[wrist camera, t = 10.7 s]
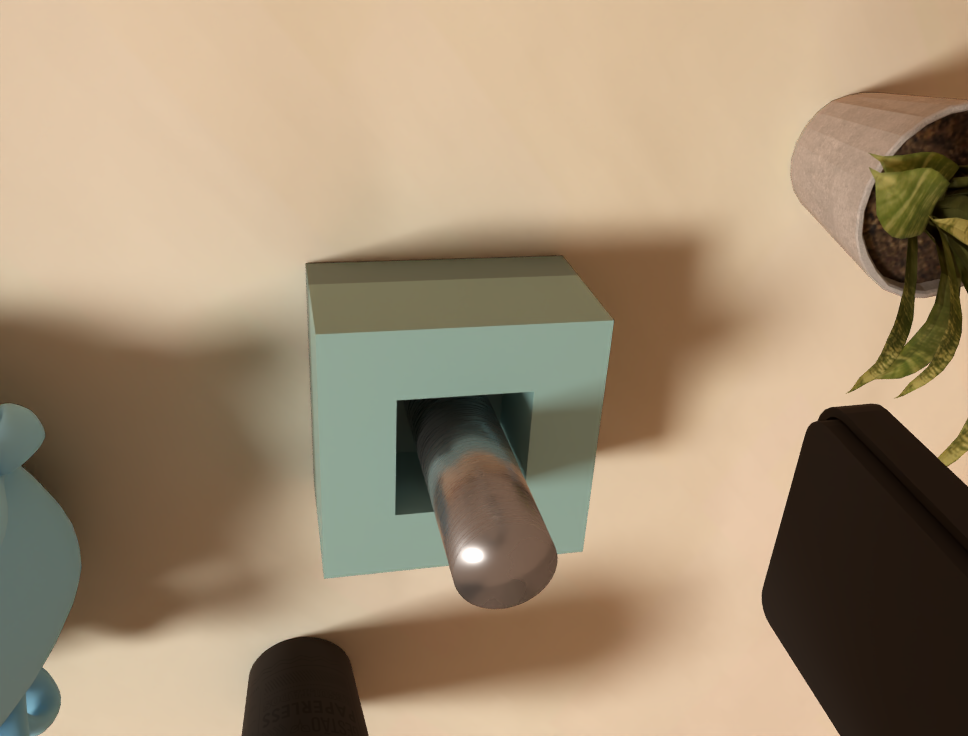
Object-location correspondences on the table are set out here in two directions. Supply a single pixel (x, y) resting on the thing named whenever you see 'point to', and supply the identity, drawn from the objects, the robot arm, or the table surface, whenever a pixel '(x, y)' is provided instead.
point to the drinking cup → (303, 692)
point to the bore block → (447, 393)
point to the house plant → (896, 215)
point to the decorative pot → (30, 579)
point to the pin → (481, 502)
